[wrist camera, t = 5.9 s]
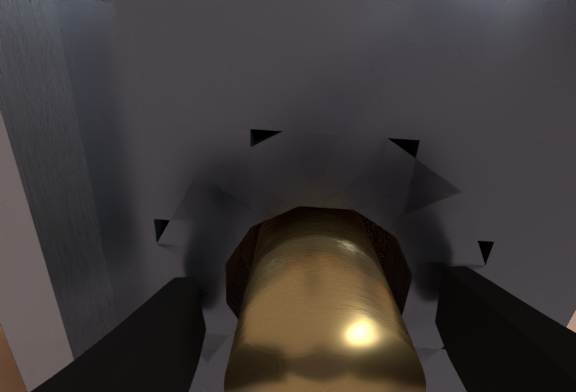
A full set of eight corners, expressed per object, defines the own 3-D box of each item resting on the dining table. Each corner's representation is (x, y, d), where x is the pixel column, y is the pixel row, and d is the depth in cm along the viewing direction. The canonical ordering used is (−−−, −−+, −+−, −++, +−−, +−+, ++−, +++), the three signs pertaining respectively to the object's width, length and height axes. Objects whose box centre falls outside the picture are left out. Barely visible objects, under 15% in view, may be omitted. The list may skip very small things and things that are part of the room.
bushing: (367, 188, 11) (439, 315, 5) (363, 280, 12) (414, 454, 7) (254, 192, 11) (209, 318, 5) (263, 282, 13) (235, 452, 7)
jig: (622, 21, 9) (923, -21, 4) (463, 399, 15) (527, 528, 11) (55, -15, 9) (-163, -90, 5) (132, 376, 15) (69, 496, 11)
